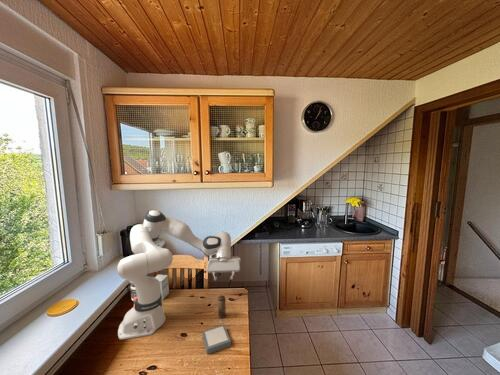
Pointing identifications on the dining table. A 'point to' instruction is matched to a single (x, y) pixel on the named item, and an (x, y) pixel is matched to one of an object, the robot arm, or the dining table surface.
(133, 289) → the decorative candle
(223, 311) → the pepper mill
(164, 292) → the supplement box
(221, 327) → the base
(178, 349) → the dining table surface
